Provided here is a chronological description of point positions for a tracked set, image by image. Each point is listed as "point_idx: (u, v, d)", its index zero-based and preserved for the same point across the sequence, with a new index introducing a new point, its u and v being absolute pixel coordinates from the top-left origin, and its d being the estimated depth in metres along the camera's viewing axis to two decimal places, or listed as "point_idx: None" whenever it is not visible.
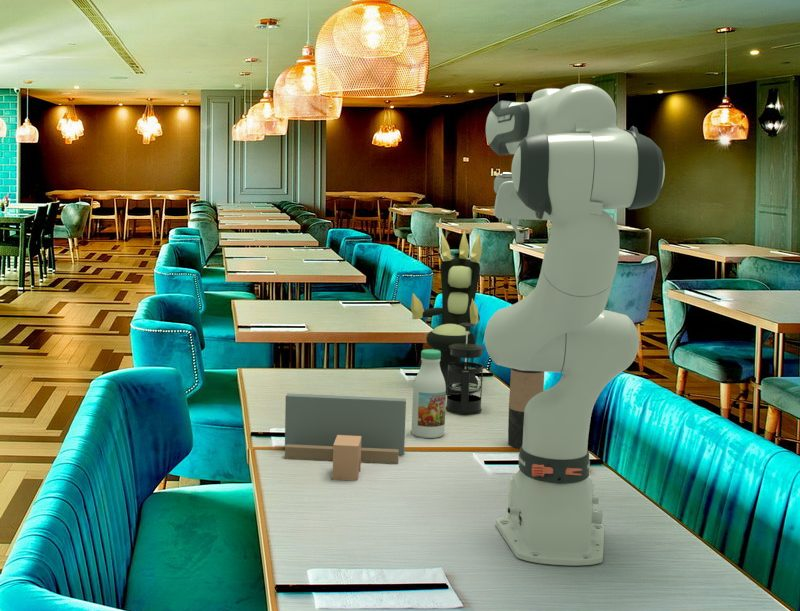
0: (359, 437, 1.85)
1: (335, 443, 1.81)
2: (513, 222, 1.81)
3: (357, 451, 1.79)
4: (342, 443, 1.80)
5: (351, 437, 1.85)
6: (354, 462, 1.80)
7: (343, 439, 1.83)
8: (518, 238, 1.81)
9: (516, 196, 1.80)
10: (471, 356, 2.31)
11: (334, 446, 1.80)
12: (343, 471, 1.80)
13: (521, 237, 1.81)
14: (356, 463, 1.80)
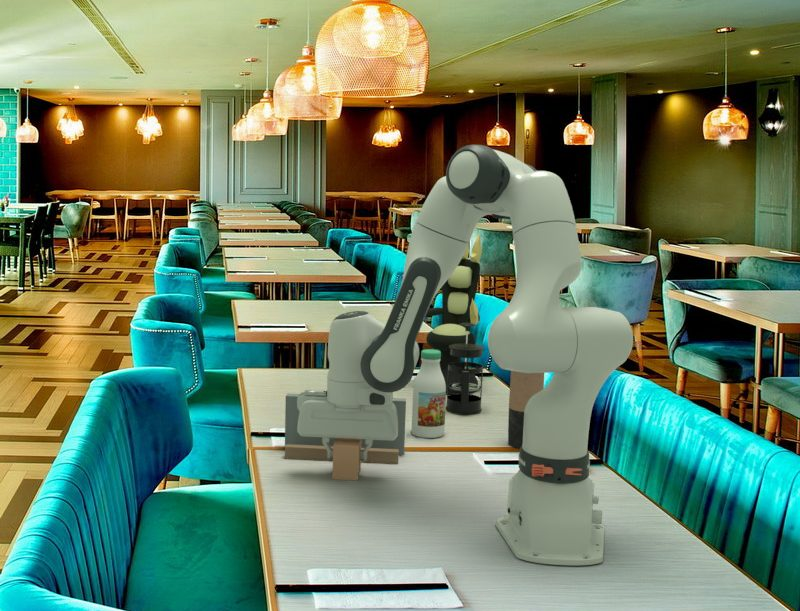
0: None
1: (335, 443, 1.81)
2: (323, 440, 1.82)
3: (357, 451, 1.79)
4: (342, 443, 1.80)
5: None
6: (354, 462, 1.80)
7: (343, 439, 1.83)
8: (329, 455, 1.83)
9: (317, 415, 1.81)
10: (471, 356, 2.31)
11: (334, 446, 1.79)
12: (343, 471, 1.80)
13: (332, 454, 1.83)
14: (356, 463, 1.80)
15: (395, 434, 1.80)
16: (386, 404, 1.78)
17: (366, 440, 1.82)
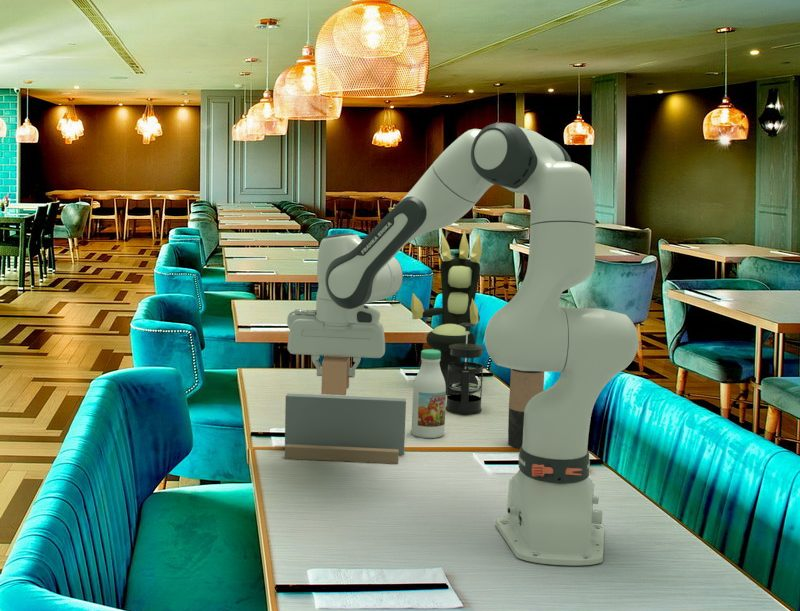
0: None
1: (324, 360, 1.87)
2: (313, 357, 1.89)
3: (345, 367, 1.86)
4: (331, 360, 1.87)
5: None
6: (342, 378, 1.87)
7: (332, 357, 1.90)
8: (318, 372, 1.89)
9: (307, 333, 1.87)
10: (471, 356, 2.31)
11: (323, 362, 1.86)
12: (331, 386, 1.87)
13: (321, 371, 1.89)
14: (344, 379, 1.87)
15: (382, 352, 1.87)
16: (373, 322, 1.85)
17: (354, 358, 1.88)
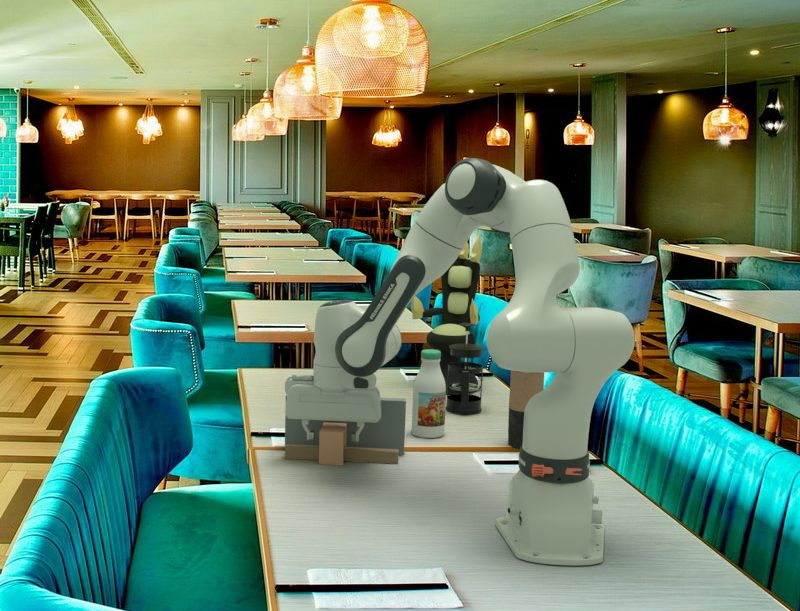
0: (344, 424, 1.94)
1: (321, 430, 1.90)
2: (303, 422, 1.91)
3: (342, 437, 1.88)
4: (328, 430, 1.89)
5: (337, 424, 1.94)
6: (339, 448, 1.89)
7: (329, 426, 1.92)
8: (308, 436, 1.92)
9: (304, 399, 1.90)
10: (471, 356, 2.31)
11: (320, 432, 1.89)
12: (329, 456, 1.89)
13: (311, 436, 1.91)
14: (341, 449, 1.89)
15: (378, 416, 1.89)
16: (369, 388, 1.87)
17: (358, 423, 1.90)
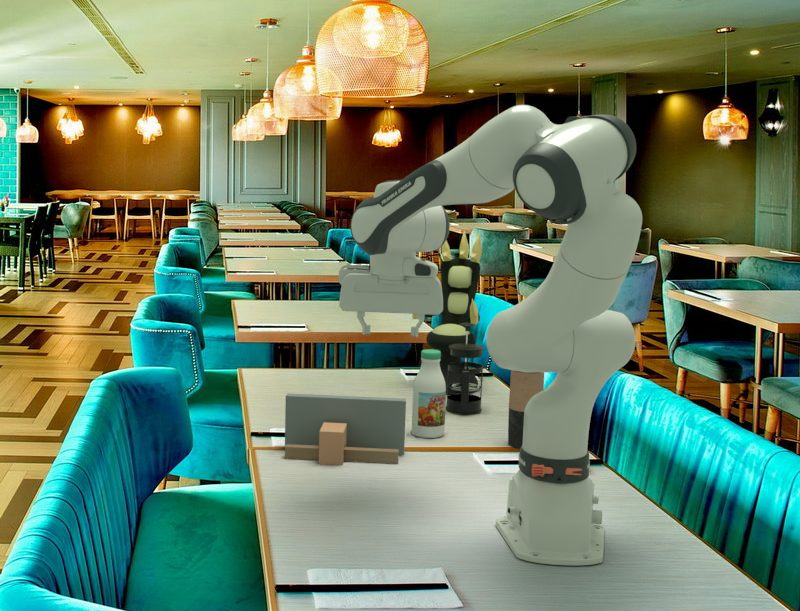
0: (344, 424, 1.94)
1: (321, 430, 1.90)
2: (358, 314, 1.76)
3: (342, 437, 1.88)
4: (328, 430, 1.89)
5: (337, 424, 1.94)
6: (339, 448, 1.89)
7: (329, 426, 1.92)
8: (364, 331, 1.77)
9: (360, 288, 1.75)
10: (471, 356, 2.31)
11: (320, 432, 1.89)
12: (329, 456, 1.89)
13: (367, 330, 1.77)
14: (341, 449, 1.89)
15: (441, 308, 1.74)
16: (432, 275, 1.72)
17: (418, 315, 1.76)
